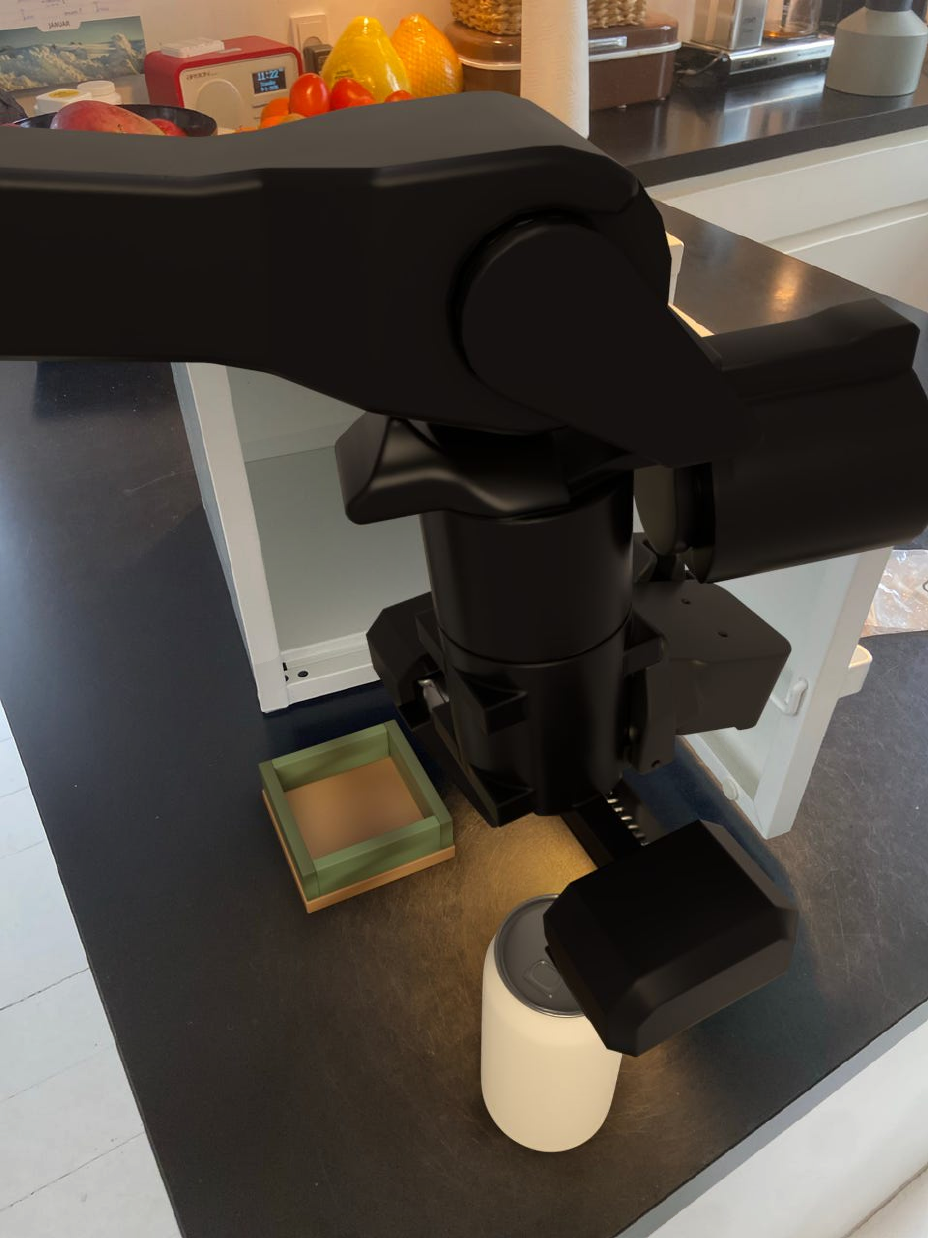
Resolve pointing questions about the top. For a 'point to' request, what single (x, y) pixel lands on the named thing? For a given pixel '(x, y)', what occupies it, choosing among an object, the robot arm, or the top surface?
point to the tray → (355, 814)
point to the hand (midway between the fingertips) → (554, 903)
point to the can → (539, 1042)
